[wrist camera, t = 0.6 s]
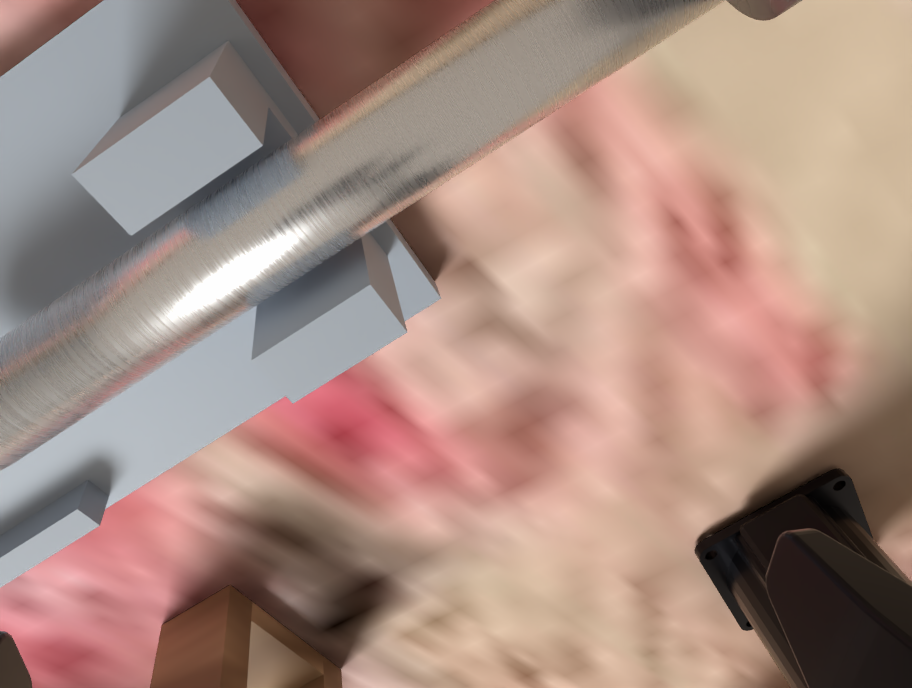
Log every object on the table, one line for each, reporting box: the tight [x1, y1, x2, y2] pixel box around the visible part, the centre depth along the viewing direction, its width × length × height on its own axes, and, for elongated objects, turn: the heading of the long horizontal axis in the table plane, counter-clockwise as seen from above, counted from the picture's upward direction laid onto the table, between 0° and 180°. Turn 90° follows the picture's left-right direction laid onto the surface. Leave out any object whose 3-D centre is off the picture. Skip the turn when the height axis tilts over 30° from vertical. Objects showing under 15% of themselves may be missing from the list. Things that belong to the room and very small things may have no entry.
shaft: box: [0, 0, 802, 470], centre depth 15 cm, size 4×21×4 cm, turn 120°
